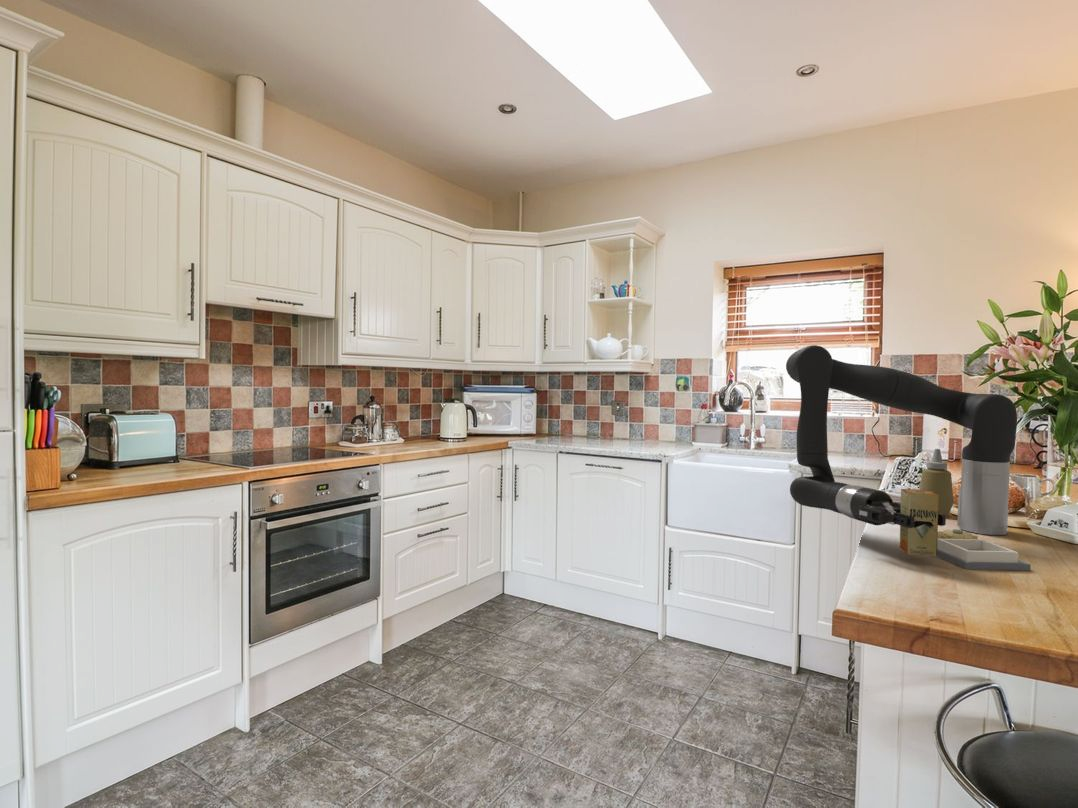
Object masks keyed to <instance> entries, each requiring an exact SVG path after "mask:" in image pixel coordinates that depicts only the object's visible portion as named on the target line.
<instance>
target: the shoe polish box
mask: <svg viewBox="0 0 1078 808" xmlns="http://www.w3.org/2000/svg"><path fill="white" fill-rule="evenodd" d="M900 502H901V514H905V515H908V516H912V517H914V528H907V527H904V526H901V525H899V529H900V530H899V548H900V549H901V550H902V551H903V552H904V553H905V554H907V555H912V556H924V557H925V556H926V557H938V556H937V536H938V532H939V530H938V529H939V527H938V526H939V525H938V494H936V493H934V492H932V491H930V490H920V489H914V488H913V489H912V488H911V489H910V488H909V489H908V488H901V489H900Z"/></svg>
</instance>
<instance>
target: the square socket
mask: <svg viewBox="0 0 1078 808" xmlns="http://www.w3.org/2000/svg"><path fill="white" fill-rule="evenodd" d="M937 549H939V550H942V551H944V552H946V553H949V554H951V555H953V556H955V557H958V558H960V559H962V560H965V561H967V562H1004V563H1018V560H1019V552H1017V551H1015V550H1012V549H1010V548H1007V547H1004V546H1002V545H998V544H996V543H993V542H990V541H987V540H985V539H978V538H977V539H937ZM972 550H983V551H972Z"/></svg>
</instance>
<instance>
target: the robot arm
mask: <svg viewBox="0 0 1078 808" xmlns="http://www.w3.org/2000/svg"><path fill="white" fill-rule="evenodd" d="M785 368H786V373H787V374H788V375H789V377H790V378H791V379H792V380H793V381H795V382H797V383H799V386H800V387H799V388H800V410H799V416H798V420H797V427H796V459H797V460H796V462H797V464H798V465H800V466H801V467H805V468H809V469H810V470H811V474H812V475H811V476H810V475H809V476H807V475H806V476H799V477H797V478H795V479H794V480H792V482H791V484H790V486H789V494H790V495H791V498H792V499H793V500H794V502H796V503H797V504H799V505H801V506H803V507H809V508H815V509H821V510H822V509H823V510H829V511H832V512H835V513H837V514H841V515H844V516H846V517H848V518H850V519H853V520H856V521H859V522H863V523H866V524H869V525H873V526H881V525H883V526H884V525H886V524H888V525H889V524H890V525H891V526H892V525H893V526H894V525H898V526H900V525H901V526H904V527H907V528H914V517H912V516H908V515H905V514H901V501H897V500H893V499H892V497H891V496H890V495H889V494H888V492H885V491H883V490H878V489H875V488H871V487H865V486H861V485H853V484H847V483H845V482H838V481H836V480H835V477H834V474H833V472H832V471H833V470H832V467H831V465H830V461H829V456H828V455H829V451H828V450H829V449H828V404H829V403H828V402H829V394H830V390H835V391H839V392H842V393H846V394H848V395H851V396H854V397H855V398H859V399H862V400H865V401H869V402H872V403H875V404H877V405H880V406H881V405H882V406H886V407H889V408H892V409H897V410H901V411H905V412H912V413H916V414H923V415H929V416H933V417H937V418H940V419H942V420H946V421H948V422H951V423H954V424H956V425H959V426H962V427H963V428H966V429H969V430H970V431H971V436H970V437H971V438H970V441H969V443H968V444H967V445H965V446H964V447H963V448H962V451H961V475H960V476H961V478H960V480H961V481H960V487H959V488H958V494H957V495H958V496H957V497H958V502H957V523H956V524H957V526H958V527H959V529H960V530H962V531H964V532H968V533H975V534H980V535H990V536H1005V535H1008V523H1009V521H1008V520H1009V496H1010V495H1009V494H1010V470H1011V469H1010V466H1011V455H1012V453H1013V451H1014V449H1015V447H1016V446H1015V445H1016V437H1017V427H1018V411H1017V408H1016V405H1015V403H1014V402H1013V400H1012V399H1010V398H1009V397H1008V396H1005V395H1004V394H1003V395H1001V394H998V393H994V394H993V393H971V392H966V391H959V390H955V389H948V388H947V387H946V388H945V387H942V386H939V385H938V384H935V383H934V382H931V381H930V380H928V379H925V378H923V377H922V376H920V375H919V376H918V375H916V374H913V373H910V372H907V371H903V370H900V369H895V368H890V367H884V366H878V365H869V364H859V363H858V364H855V363H850V362H849V363H848V362H844V361H840V360H837V359H834V358H832V355H831V353H830V352H829V351H828V350H827V349H826V348H824V347H823V346H820V345H817V344H812V345H807V346H804V347H802V348H800V349H798V350H796V351H794V352H793V353H792V354H791V355H790V356H789V357H788V359H787V360H786V364H785ZM946 517H947V516H945V515H943V514H939V513H938V526H940V527H942V526H943V527H944V526H946V525H947V524H946V522H947V521H946V519H947V518H946Z"/></svg>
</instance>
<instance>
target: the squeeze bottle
mask: <svg viewBox="0 0 1078 808" xmlns="http://www.w3.org/2000/svg"><path fill="white" fill-rule="evenodd" d="M947 469H948V463H947V462H944V461H943V457H942V452H941V448H935V449H934V450H933V454H932V458H931V460H930V461H926V468H925V469H924V470H922V472H921V477H920V483H919V490H930V491H932V492H934V493H936V494H938V513H939V514H943V515H945V516H946V517H948V516H949V515H950V512H951V509H952V508H953V506H954V502H955V501H954V492H953V491H954V490H953V480H952V473H951V471H949V470H947Z"/></svg>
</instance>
